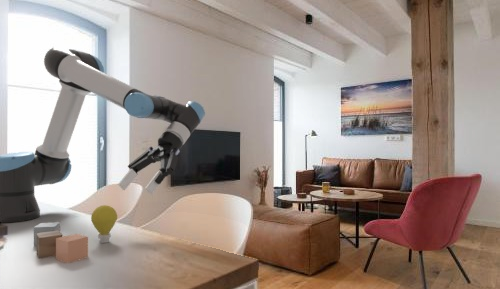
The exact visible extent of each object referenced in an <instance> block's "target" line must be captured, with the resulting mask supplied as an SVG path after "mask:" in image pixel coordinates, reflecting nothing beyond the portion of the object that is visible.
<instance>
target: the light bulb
mask: <svg viewBox="0 0 500 289" xmlns="http://www.w3.org/2000/svg"><path fill="white" fill-rule="evenodd" d="M117 213H118V212H117V211H116V209H115V208H114V207H113V206H111V205H106V204H105V205H100V206H98V207H96V208H95V209H94V210H93V212H92V214H91V217H90V218H91V223H92V225H93V226H94V228H95V229H96V231H97V232H98V233H99V234H97V238H98V239H99V243H100V244H101V243H103V244H106V243H109V242H110V239H111V238H112V236H111V235H112V234H111V233H110V232H111V231H112V229H113V227H114V226H115V224H116V222H117V220H118V214H117Z"/></svg>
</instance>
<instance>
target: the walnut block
mask: <svg viewBox="0 0 500 289" xmlns="http://www.w3.org/2000/svg"><path fill="white" fill-rule="evenodd" d="M60 237H64V236H63V234H62V232H61V230H60V231H59V230H58V231H50V232H43V233H36V246H35V247H36V255H37V258H38V259H44V258H51V257H56V238H60Z"/></svg>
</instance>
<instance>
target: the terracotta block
mask: <svg viewBox="0 0 500 289" xmlns="http://www.w3.org/2000/svg"><path fill="white" fill-rule="evenodd" d="M85 257H87V258H89V236H87V235H83V234H81V233H74V234H69V235H66V236H63V237H60V238H56V256H55V260H58V261H61V262H63V263H65V264H70V263H74V262H76V260H77V261H79V259H80V260H83V259H86V258H85ZM82 258H83V259H82Z"/></svg>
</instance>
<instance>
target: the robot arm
mask: <svg viewBox="0 0 500 289" xmlns="http://www.w3.org/2000/svg"><path fill="white" fill-rule="evenodd" d="M43 59H44V60H43V62H44V63H43V64H44V67H45V70H46V71H47V72H48V73H49V75H51V76H53V77H54V78H57V79H58V82H59V84H60V85H61V88H60V92H59V94H58V97H57V101H56V103H55V107H54V110H53V112H52V116H51V118H50V122H49V124H48V128H47V130H46V133H45V136H44V139H43V143H42V144H40V145H38V146H37V147H36V150H35V152H32V151H20V152H11V153H10V152H9V153H4V154H0V222H1V223H0V224H3V223H5V224H8V223H17V222H25V221H30V220H33V219H38V218H39V217H40V216H41V209H40V206H39V204H38V201H37V198H36V195H35V187H36V186H37V187H38V186H44V185H53V184H57V183H60V182H63V181H65V180H66V179H67V178H68V177H69V175H70V173H71V171H72V164H71V159H70V158H69V157H70V154H69V152H68V147H69V145H70V142H71V139H72V136H73V133H74V130H75V128H76V124H77V122H78V119H79V115H80V113H81V110H82V107H83V104H84V103H85V98H86V96H87V95H88V94H89V95H90V94H91V93H93V94H94V95H97V96H98V97H100V98H102V99H104V100H106V101H108V102H110V103H112V104H114V105H116V106H117V107H120V108H122V109H124V110H125V111H126V113H127V114H128V115H130V116H132V117H134V118H138V119H150V120H151V119H152V120H159V121H163V122H167V123H168V124H169V123H170V124H169V125H168V126H167V127H166V129H165V130H164V132H163V133H162V134H161V135H160V136H159V138H158V139H157V146H156V147H155V148H153V146H149V148H147V149H146V151H144V152H143V153H142V154H140V155H139V156H138V157H137V158H135V159H134V160H132V162H130V163H129V164H128V165H127V167H128V169H129V170H128V172H126V174H124V176H123V177H122V179H121V180H120V181H119V183H118V184H117V185H118V186H119V188H121V190H122V191H125V190H127V188H128V187H129V186H130V184H131V183H132V182H133V180H134V179H135V178H136V177H137V176H138V175H139V174H138V172H140V171H142V170H144V169H145V168H147V167H148V166H150V165H151V164H155V163H157V162H159V163H160V168H159V169H158V171H157V172H155V174H154V175H153V177H152V178H151V179H150V181H149V182H148V183H147V185H146V186H145V187H144V190H145V191H146V192H148V193H149V195H153V194H154V192H156V190H157V188H158V187H159V185H160V184H161V183H162V182H163V181H164V180H165V178H166V177H168V176H169V175H170V176H174V174H175V170H176V168H177V165H178V164H177V163H178V160H179V157H180V155H181V154H182V152H181V151H180V150H181V149H182V148H183V145H185V143H186V142H187V140H188V139H189V138H190V136H191V135H192V133H193V132H194V131H195V130H196V128H197V127H198V126H199V125H200V124H201V122H202V120H203V119H204V117H205V115H206V112H205V111H206V110H205V109H204V106H202V104H201V103H199V102H197V101H194V100H192V101H188V102H187V103H186V104H182V103H178V102H175V101H173V100H171V99H168V98H166V97H164V96H161V95H157V94H154V95H151V94H148V93H145V92H143V91H142V90H139V89H137V88H135V87H133V86H131V85H130V84H128V83H125V82H123V81H121V80H119V79H117V78H115V77H113V76H112V75H111V76H110V74H107V73H105V68H104V65H103V63H102V61H101V60H100V58H99V57H96V56H95V55H92V54H90V53H88V52H84V51H82V50H81V51H80V50H77V49H74V48H72V47H69V46H66V45H65V46H64V45H58V46H53V47H52V48H51V49H48V51H46V53H45V56H44V58H43Z"/></svg>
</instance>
